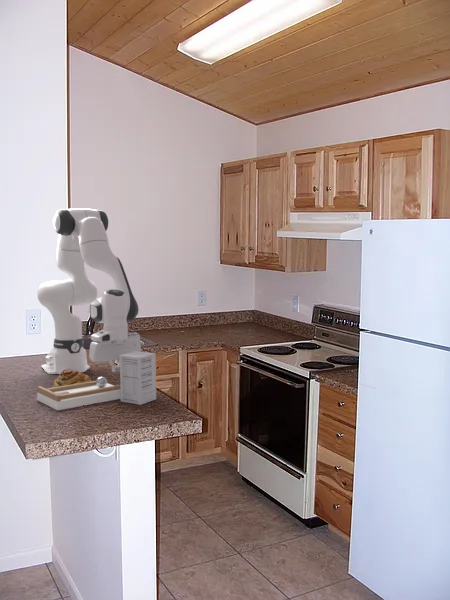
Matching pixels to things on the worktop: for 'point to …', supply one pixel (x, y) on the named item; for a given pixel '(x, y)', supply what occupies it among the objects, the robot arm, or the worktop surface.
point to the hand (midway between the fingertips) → (116, 371)
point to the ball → (101, 382)
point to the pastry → (71, 378)
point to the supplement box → (138, 377)
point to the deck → (77, 395)
